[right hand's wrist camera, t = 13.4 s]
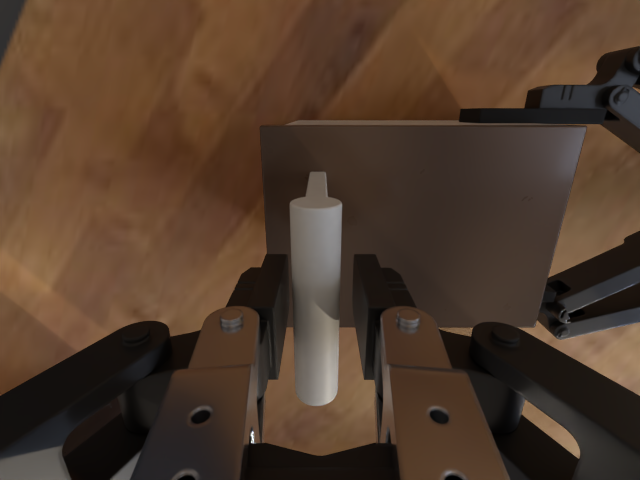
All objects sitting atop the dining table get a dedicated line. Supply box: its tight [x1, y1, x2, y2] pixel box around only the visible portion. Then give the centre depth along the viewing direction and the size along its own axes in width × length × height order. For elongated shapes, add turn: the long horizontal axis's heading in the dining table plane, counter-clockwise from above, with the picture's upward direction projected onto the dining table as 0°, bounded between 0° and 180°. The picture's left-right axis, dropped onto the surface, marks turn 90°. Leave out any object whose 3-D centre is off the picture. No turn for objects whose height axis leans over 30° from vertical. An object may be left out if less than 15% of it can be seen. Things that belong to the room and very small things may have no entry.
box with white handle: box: [260, 125, 587, 406], centre depth 13 cm, size 14×10×8 cm
